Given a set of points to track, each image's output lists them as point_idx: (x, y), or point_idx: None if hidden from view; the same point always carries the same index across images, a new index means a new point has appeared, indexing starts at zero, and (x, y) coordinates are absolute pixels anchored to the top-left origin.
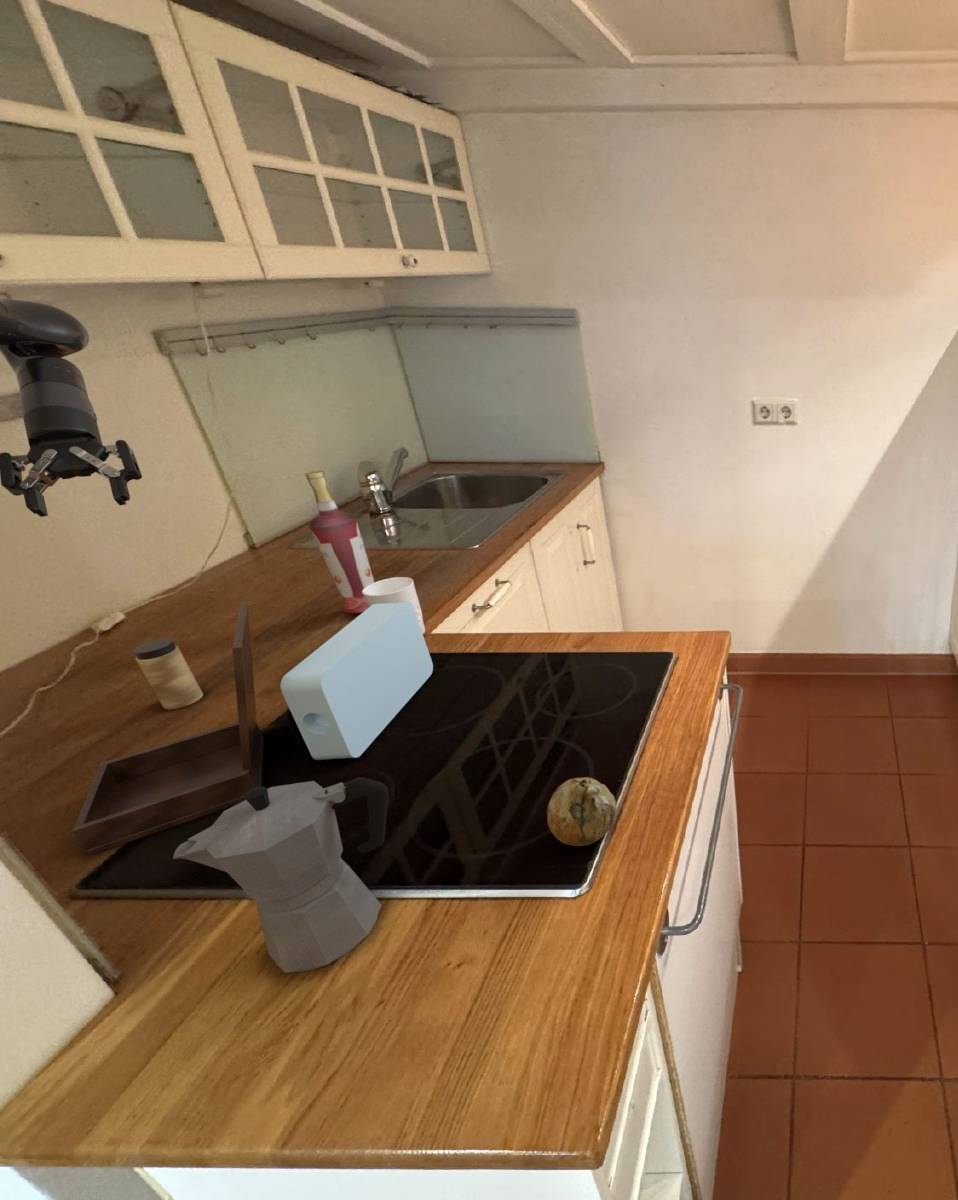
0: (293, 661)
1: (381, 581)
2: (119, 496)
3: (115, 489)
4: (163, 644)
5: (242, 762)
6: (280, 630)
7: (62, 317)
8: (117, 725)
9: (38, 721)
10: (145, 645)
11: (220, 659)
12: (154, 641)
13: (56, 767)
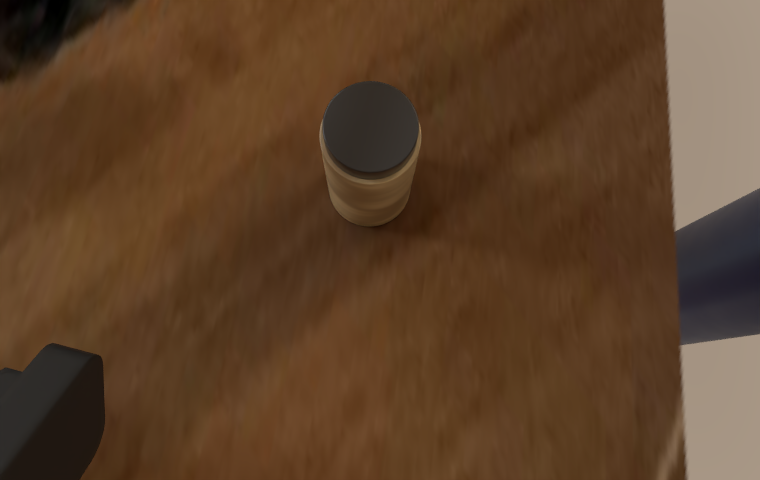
0: (120, 188)
1: None
2: (46, 348)
3: (8, 413)
4: (347, 105)
5: None
6: None
7: None
8: (498, 181)
9: (637, 378)
10: (386, 146)
11: (245, 390)
12: (362, 158)
13: (604, 79)
